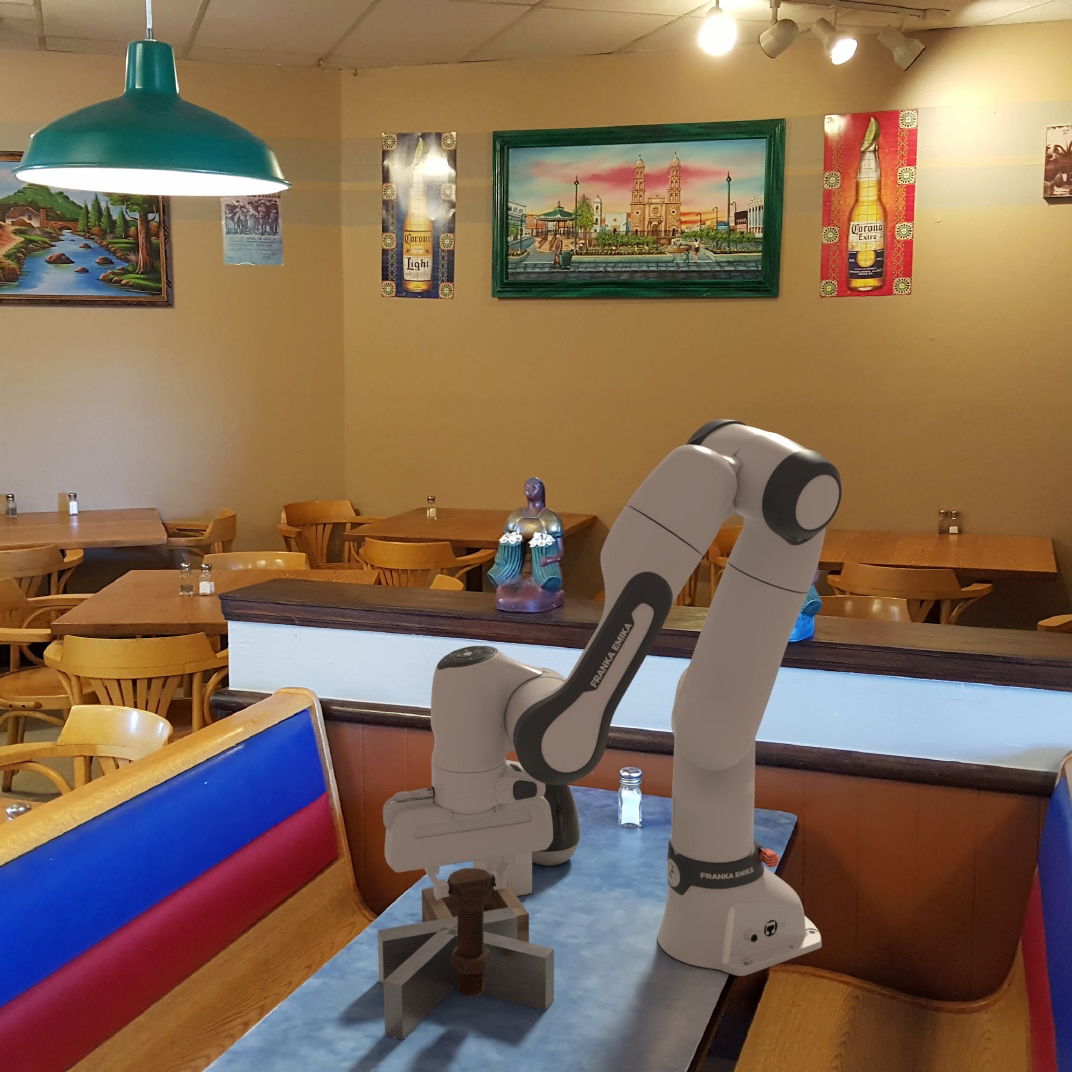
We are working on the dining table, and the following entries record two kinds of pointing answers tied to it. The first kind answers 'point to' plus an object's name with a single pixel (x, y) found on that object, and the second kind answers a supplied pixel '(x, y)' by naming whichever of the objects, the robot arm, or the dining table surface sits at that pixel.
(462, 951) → the bolt
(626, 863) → the dining table surface
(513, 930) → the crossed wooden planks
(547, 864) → the black egg shape
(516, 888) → the milk carton
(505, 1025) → the dining table surface
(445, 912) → the bore block
